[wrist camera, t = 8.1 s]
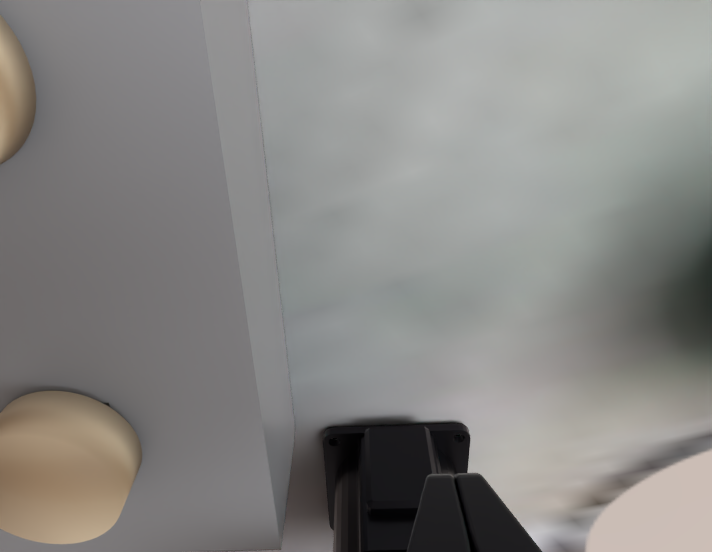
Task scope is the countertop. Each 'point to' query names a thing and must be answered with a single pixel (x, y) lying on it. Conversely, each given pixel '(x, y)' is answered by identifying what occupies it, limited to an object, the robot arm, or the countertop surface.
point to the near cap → (14, 94)
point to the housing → (151, 263)
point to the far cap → (64, 467)
